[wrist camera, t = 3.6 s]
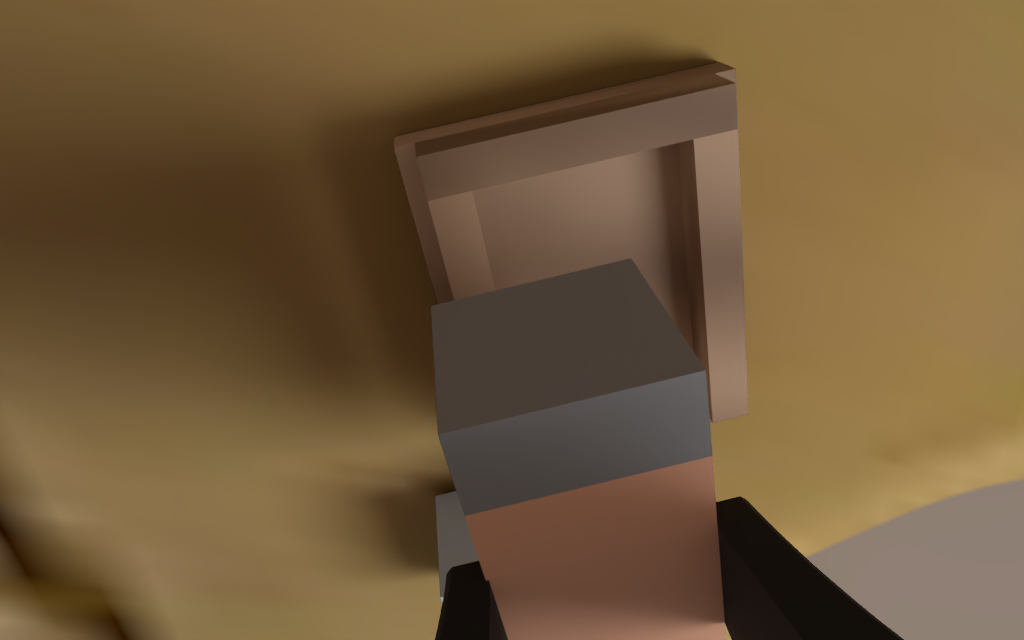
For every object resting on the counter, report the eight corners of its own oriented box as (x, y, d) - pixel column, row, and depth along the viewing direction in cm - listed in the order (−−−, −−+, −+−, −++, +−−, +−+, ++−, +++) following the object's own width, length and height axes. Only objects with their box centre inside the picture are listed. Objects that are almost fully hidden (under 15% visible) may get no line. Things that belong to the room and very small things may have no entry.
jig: (734, 394, 22) (766, 438, 20) (482, 455, 22) (490, 504, 20) (718, 61, 17) (758, 77, 15) (394, 136, 17) (392, 162, 15)
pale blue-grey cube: (563, 546, 24) (589, 649, 21) (460, 571, 24) (470, 678, 21) (545, 468, 22) (571, 565, 19) (435, 494, 22) (440, 597, 19)
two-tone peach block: (670, 565, 16) (732, 715, 13) (518, 602, 16) (545, 761, 13) (631, 258, 12) (706, 370, 9) (431, 306, 12) (437, 435, 9)
